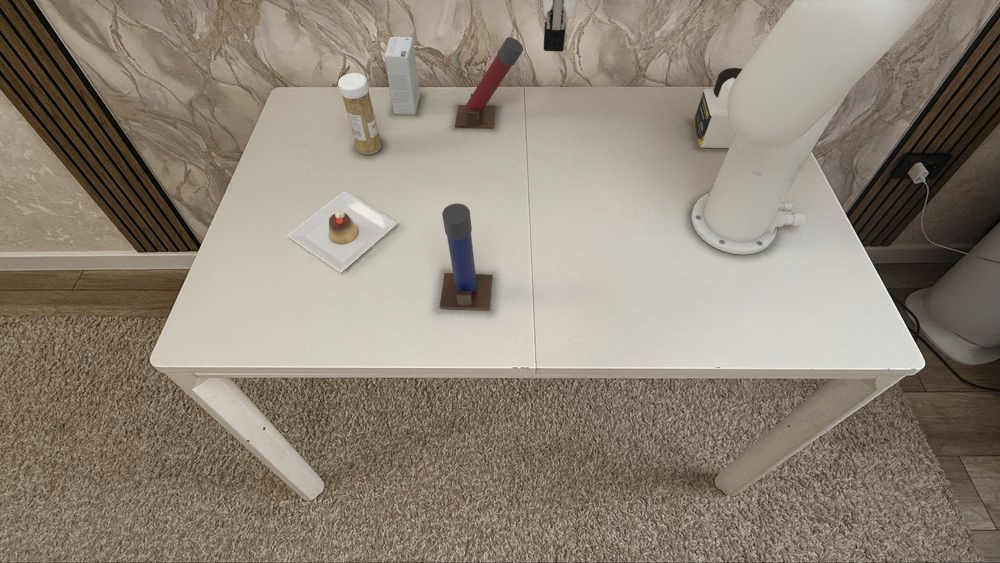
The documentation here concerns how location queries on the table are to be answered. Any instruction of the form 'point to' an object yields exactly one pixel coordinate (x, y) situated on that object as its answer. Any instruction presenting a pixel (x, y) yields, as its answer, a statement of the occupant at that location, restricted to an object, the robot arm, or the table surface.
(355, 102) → the sprinkles bottle
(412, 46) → the cosmetic box
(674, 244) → the table surface
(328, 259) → the dessert
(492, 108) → the stand far
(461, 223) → the marker
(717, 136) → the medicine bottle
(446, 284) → the stand near
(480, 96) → the marker far
